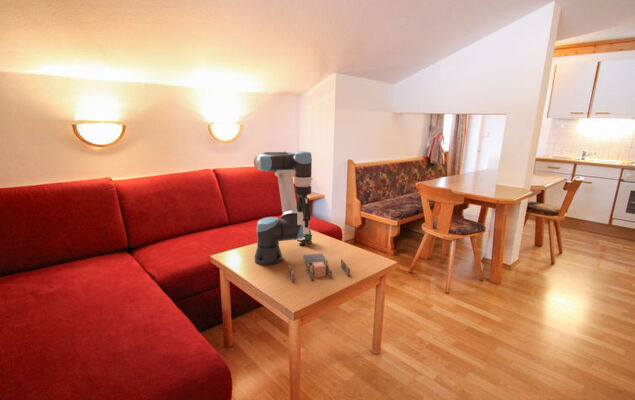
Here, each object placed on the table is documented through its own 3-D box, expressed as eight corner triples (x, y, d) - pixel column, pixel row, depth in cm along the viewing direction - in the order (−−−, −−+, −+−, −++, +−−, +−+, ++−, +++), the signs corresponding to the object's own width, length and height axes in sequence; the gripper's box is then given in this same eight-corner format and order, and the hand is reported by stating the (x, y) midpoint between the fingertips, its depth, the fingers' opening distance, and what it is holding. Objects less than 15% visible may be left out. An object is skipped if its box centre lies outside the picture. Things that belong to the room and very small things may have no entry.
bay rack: (288, 271, 163) (288, 264, 162) (342, 266, 170) (342, 259, 169) (292, 282, 152) (292, 275, 151) (349, 276, 159) (350, 269, 158)
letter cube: (312, 272, 163) (312, 262, 161) (322, 271, 164) (322, 261, 163) (314, 277, 158) (314, 266, 156) (325, 276, 159) (325, 265, 158)
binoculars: (297, 226, 203) (312, 226, 200) (299, 242, 205) (314, 242, 203) (293, 231, 194) (309, 230, 192) (295, 247, 196) (311, 247, 194)
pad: (303, 256, 181) (303, 255, 181) (321, 255, 184) (321, 253, 184) (307, 265, 171) (307, 263, 171) (326, 263, 173) (327, 261, 173)
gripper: (317, 190, 137) (317, 237, 142) (305, 180, 160) (305, 220, 165) (300, 191, 135) (300, 238, 140) (290, 180, 158) (290, 221, 164)
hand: (303, 229), depth 153 cm, fingers open, 13 cm apart
